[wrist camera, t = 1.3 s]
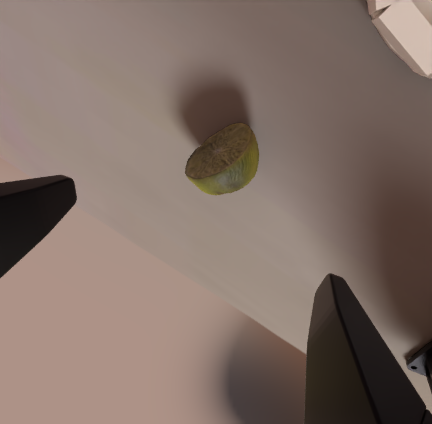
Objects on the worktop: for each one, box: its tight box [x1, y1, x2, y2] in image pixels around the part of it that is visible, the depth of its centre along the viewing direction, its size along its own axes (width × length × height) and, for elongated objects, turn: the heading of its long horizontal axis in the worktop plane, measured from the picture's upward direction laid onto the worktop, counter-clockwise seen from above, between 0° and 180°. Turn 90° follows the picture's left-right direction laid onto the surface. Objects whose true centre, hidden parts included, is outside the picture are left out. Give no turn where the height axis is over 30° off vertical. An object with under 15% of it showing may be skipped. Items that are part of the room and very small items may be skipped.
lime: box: [185, 123, 259, 195], centre depth 17 cm, size 4×5×5 cm
